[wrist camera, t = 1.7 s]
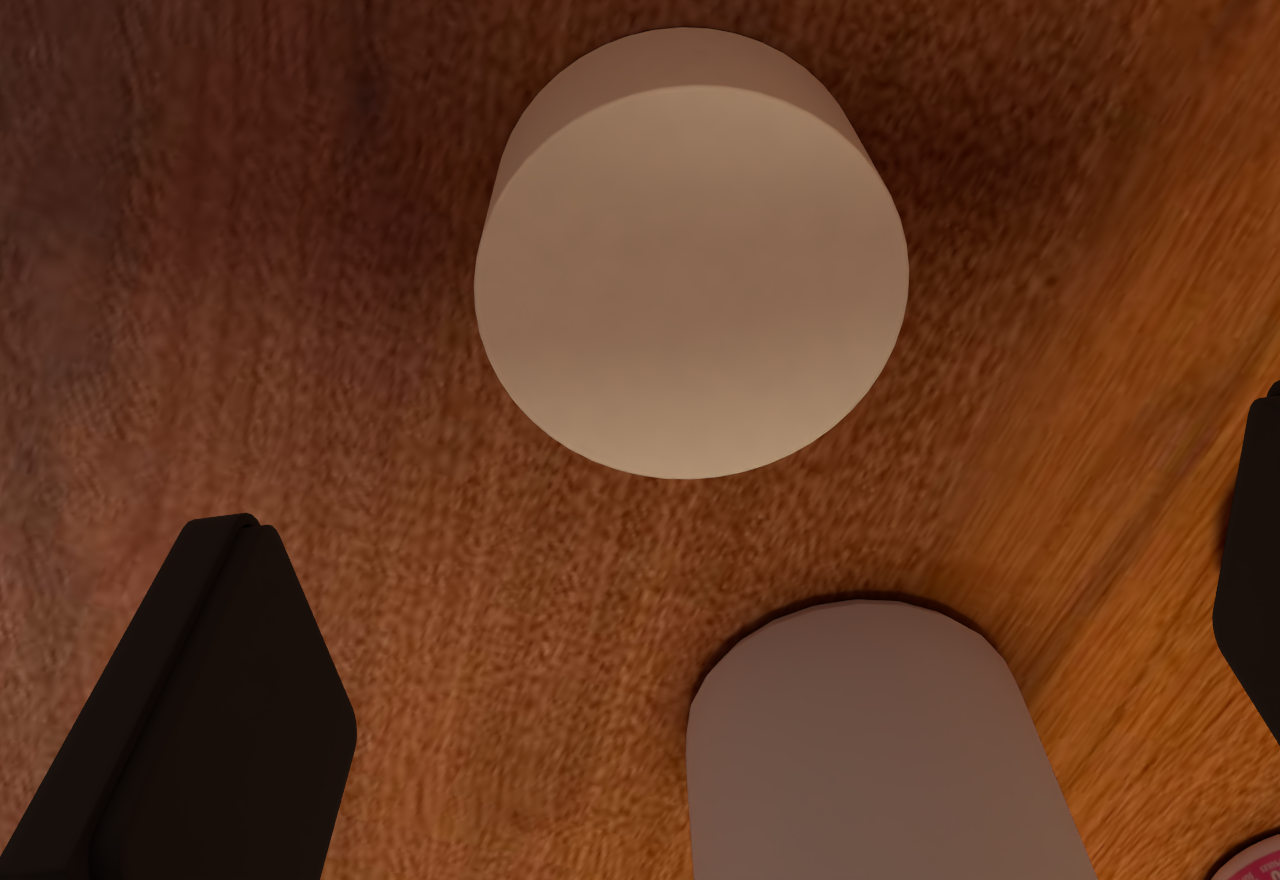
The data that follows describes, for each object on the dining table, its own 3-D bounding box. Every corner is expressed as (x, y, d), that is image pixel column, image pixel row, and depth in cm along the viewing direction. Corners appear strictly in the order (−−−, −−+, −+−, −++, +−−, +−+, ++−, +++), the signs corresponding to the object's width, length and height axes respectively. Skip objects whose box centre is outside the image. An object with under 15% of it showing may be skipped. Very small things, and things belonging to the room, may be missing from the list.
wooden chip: (535, 402, 20) (523, 505, 17) (452, 61, 16) (423, 126, 14) (874, 355, 19) (913, 452, 17) (860, -6, 16) (906, 49, 13)
